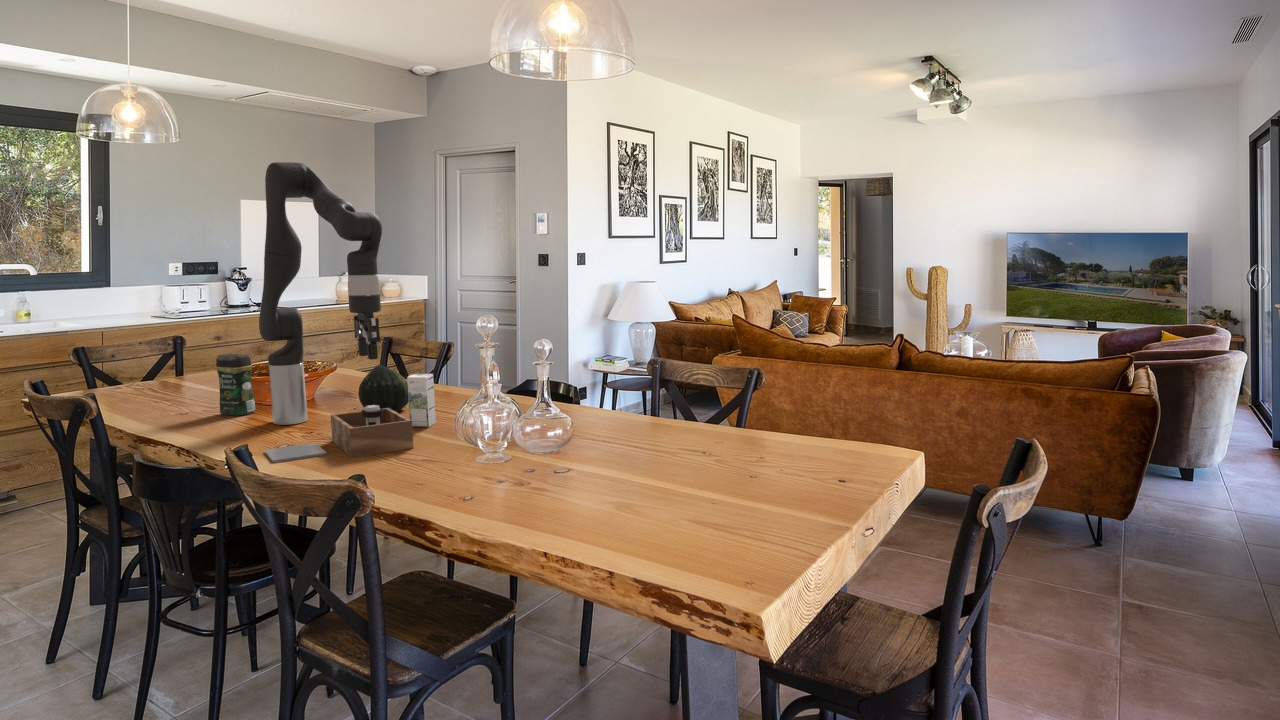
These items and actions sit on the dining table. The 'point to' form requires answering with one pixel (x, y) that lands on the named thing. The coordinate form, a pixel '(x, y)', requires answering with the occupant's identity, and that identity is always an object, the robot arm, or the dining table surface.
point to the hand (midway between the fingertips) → (368, 357)
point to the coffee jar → (235, 384)
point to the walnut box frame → (371, 433)
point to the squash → (384, 389)
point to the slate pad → (294, 452)
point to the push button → (372, 414)
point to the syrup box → (421, 400)
